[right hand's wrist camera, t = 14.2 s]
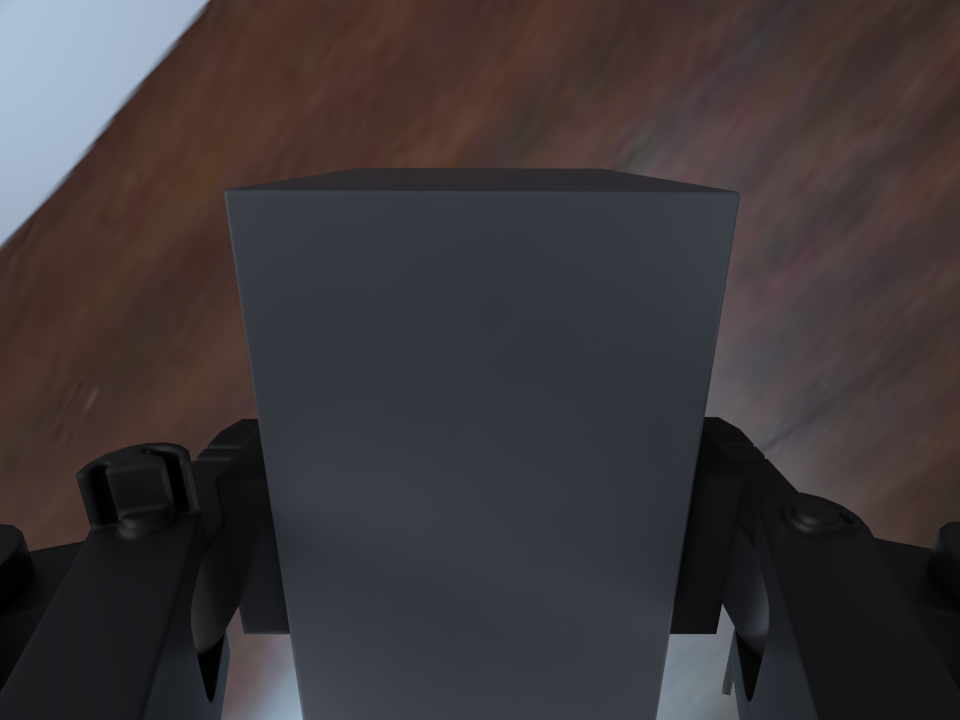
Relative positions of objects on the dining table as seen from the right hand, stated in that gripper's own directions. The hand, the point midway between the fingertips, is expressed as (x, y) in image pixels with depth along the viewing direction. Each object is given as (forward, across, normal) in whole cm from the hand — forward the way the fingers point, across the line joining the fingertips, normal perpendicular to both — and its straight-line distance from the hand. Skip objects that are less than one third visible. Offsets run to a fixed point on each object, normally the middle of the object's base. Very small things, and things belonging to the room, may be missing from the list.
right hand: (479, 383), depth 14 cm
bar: (+1, 0, -23) cm, 23 cm away
